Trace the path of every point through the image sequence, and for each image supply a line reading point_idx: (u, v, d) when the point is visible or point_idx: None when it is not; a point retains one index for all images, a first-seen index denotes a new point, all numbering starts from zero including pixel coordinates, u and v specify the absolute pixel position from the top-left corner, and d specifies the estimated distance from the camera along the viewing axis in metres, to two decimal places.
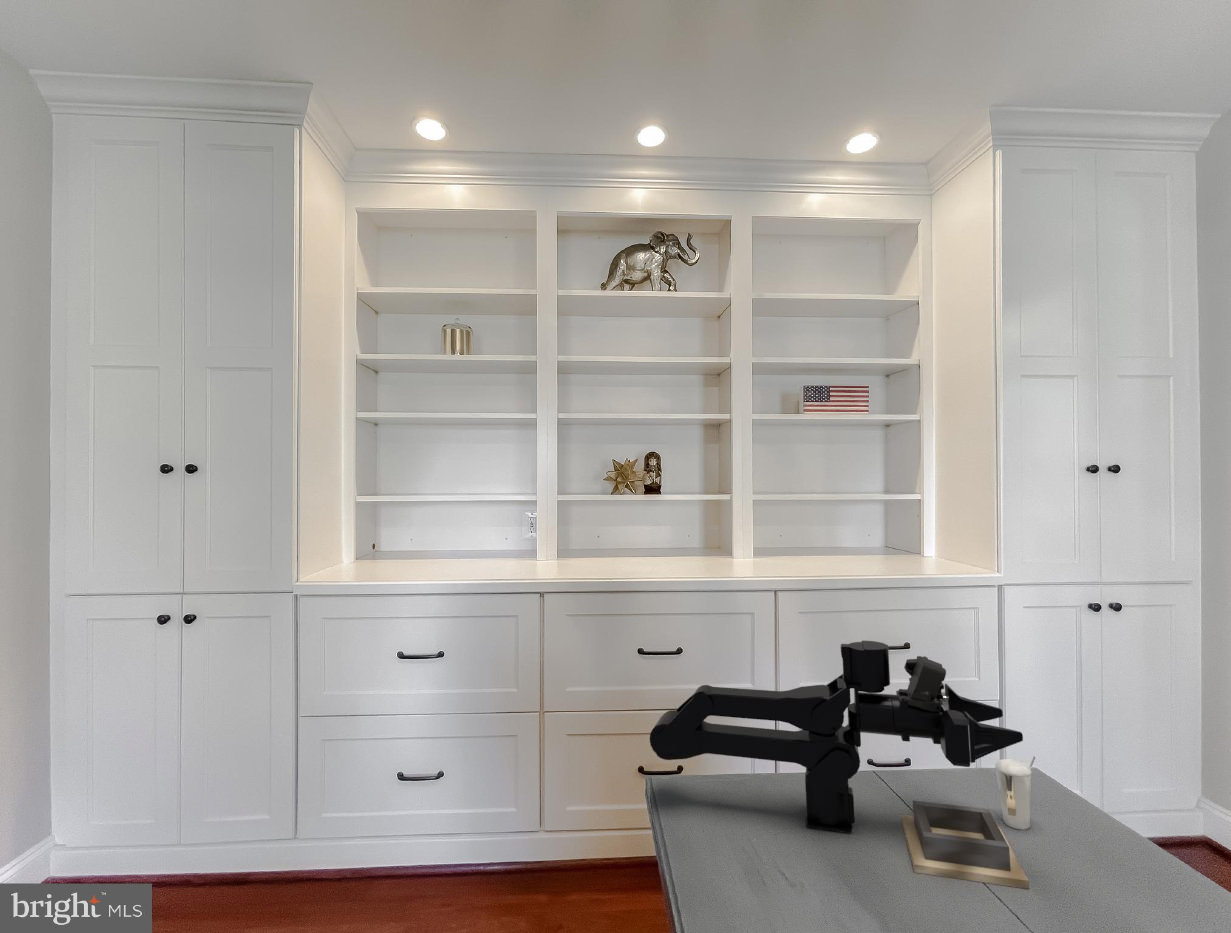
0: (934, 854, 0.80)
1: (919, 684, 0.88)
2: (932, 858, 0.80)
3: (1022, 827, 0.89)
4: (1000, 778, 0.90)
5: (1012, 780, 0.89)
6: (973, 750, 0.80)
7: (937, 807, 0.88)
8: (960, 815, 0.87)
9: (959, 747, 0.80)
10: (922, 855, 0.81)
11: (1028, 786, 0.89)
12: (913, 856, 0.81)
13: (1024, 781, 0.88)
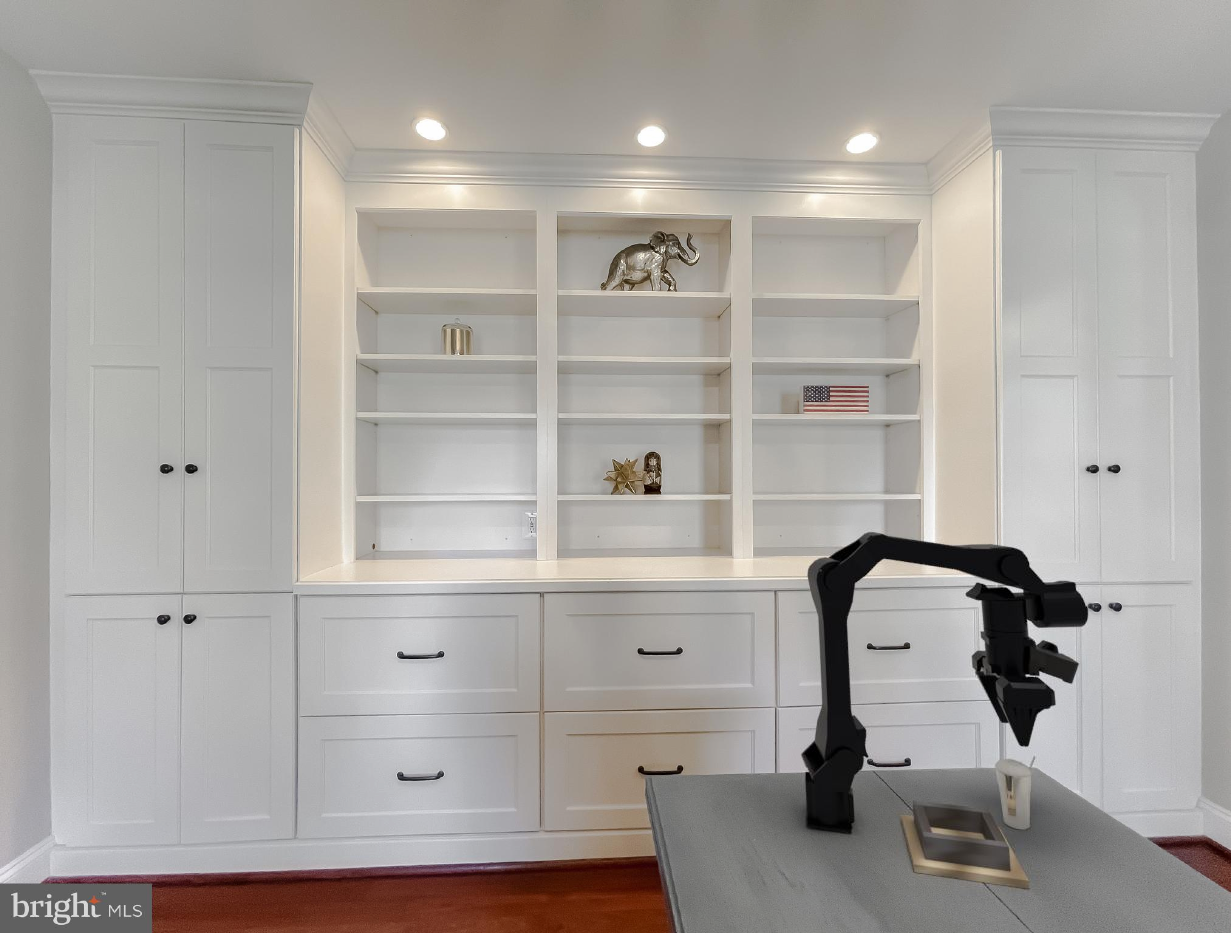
0: (934, 854, 0.80)
1: (1055, 658, 0.87)
2: (932, 858, 0.80)
3: (1022, 827, 0.89)
4: (1000, 778, 0.90)
5: (1012, 780, 0.89)
6: (1018, 706, 0.84)
7: (937, 807, 0.88)
8: (960, 815, 0.87)
9: (1026, 696, 0.82)
10: (922, 855, 0.81)
11: (1028, 786, 0.89)
12: (913, 856, 0.81)
13: (1024, 781, 0.88)
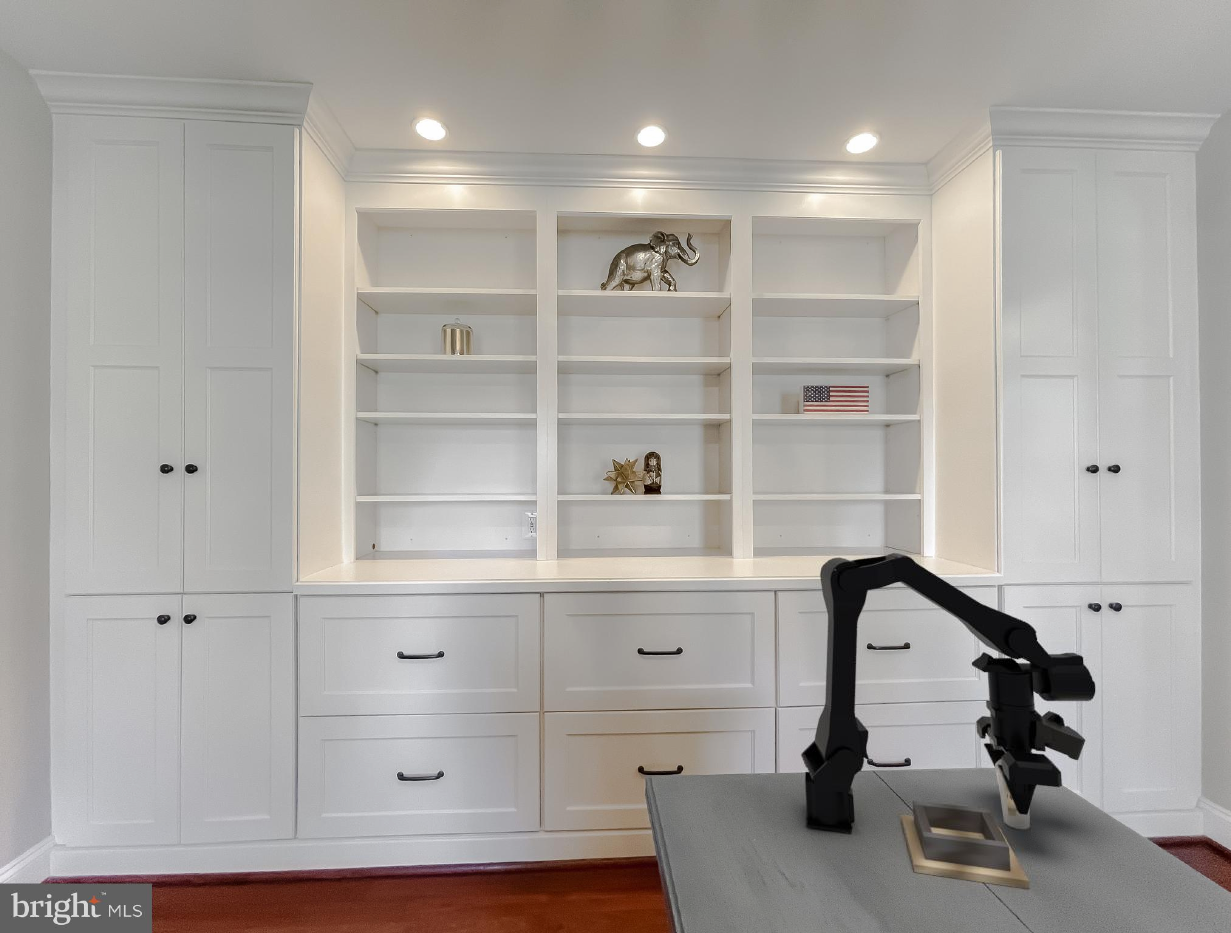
0: (934, 854, 0.80)
1: (1061, 734, 0.87)
2: (932, 858, 0.80)
3: (1022, 827, 0.89)
4: (1000, 778, 0.90)
5: None
6: None
7: (937, 807, 0.88)
8: (960, 815, 0.87)
9: (1032, 775, 0.82)
10: (922, 855, 0.81)
11: None
12: (913, 856, 0.81)
13: None
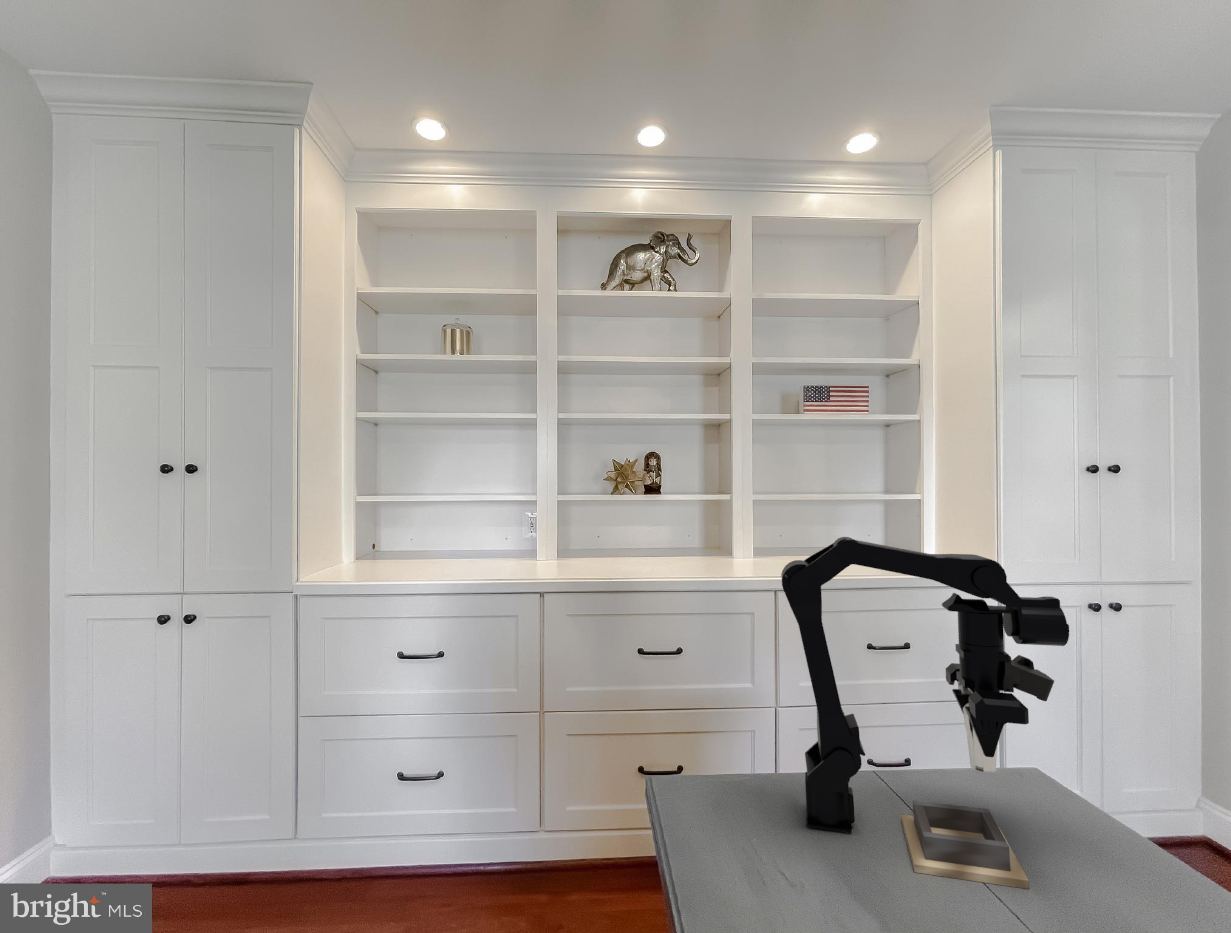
0: (934, 854, 0.80)
1: (1030, 675, 0.85)
2: (932, 858, 0.80)
3: (988, 770, 0.86)
4: (967, 721, 0.88)
5: None
6: None
7: (937, 807, 0.88)
8: (960, 815, 0.87)
9: (999, 713, 0.80)
10: (922, 855, 0.81)
11: None
12: (913, 856, 0.81)
13: None
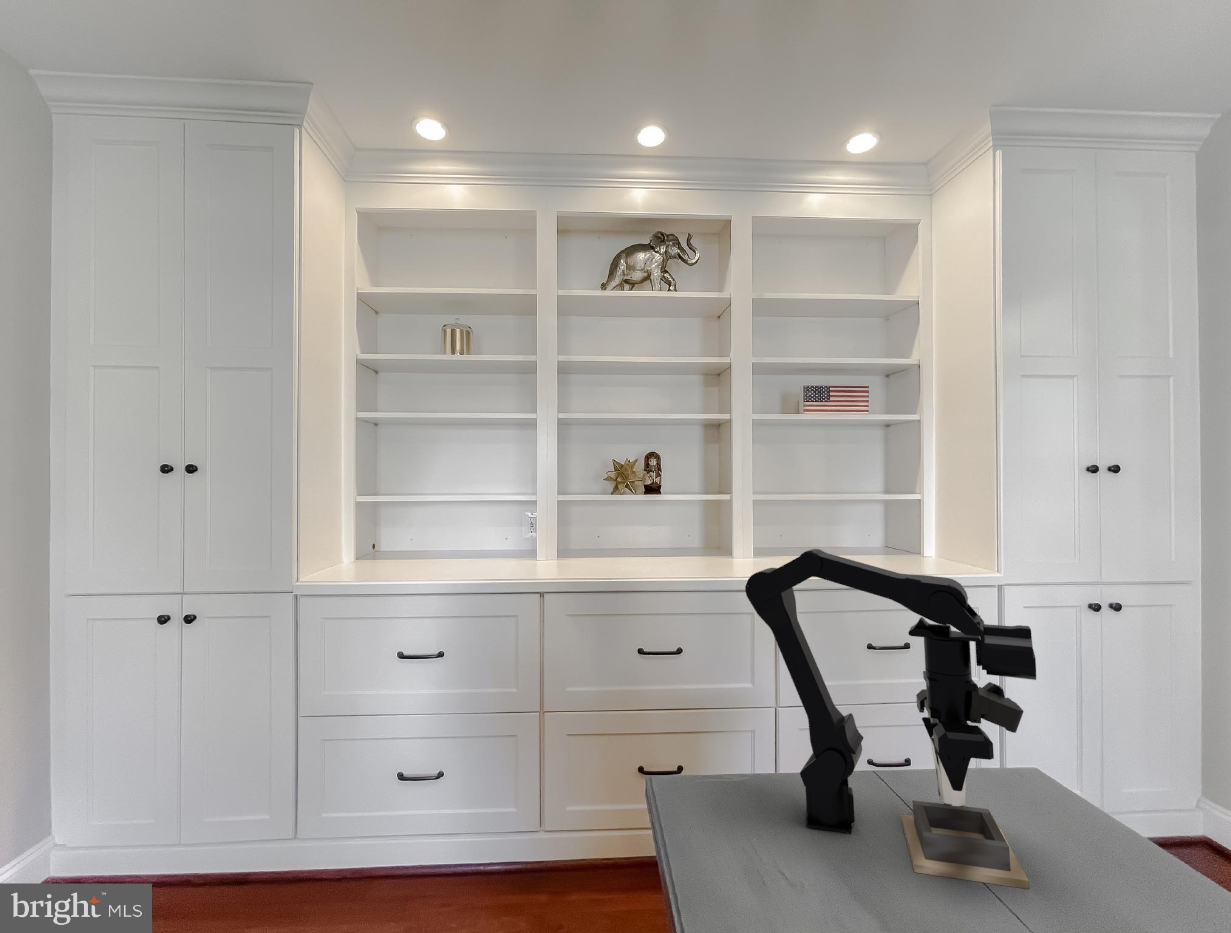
0: (934, 854, 0.80)
1: (998, 705, 0.81)
2: (932, 858, 0.80)
3: (957, 804, 0.83)
4: (935, 752, 0.84)
5: None
6: None
7: (937, 807, 0.88)
8: (960, 815, 0.87)
9: (962, 747, 0.76)
10: (922, 855, 0.81)
11: None
12: (913, 856, 0.81)
13: None
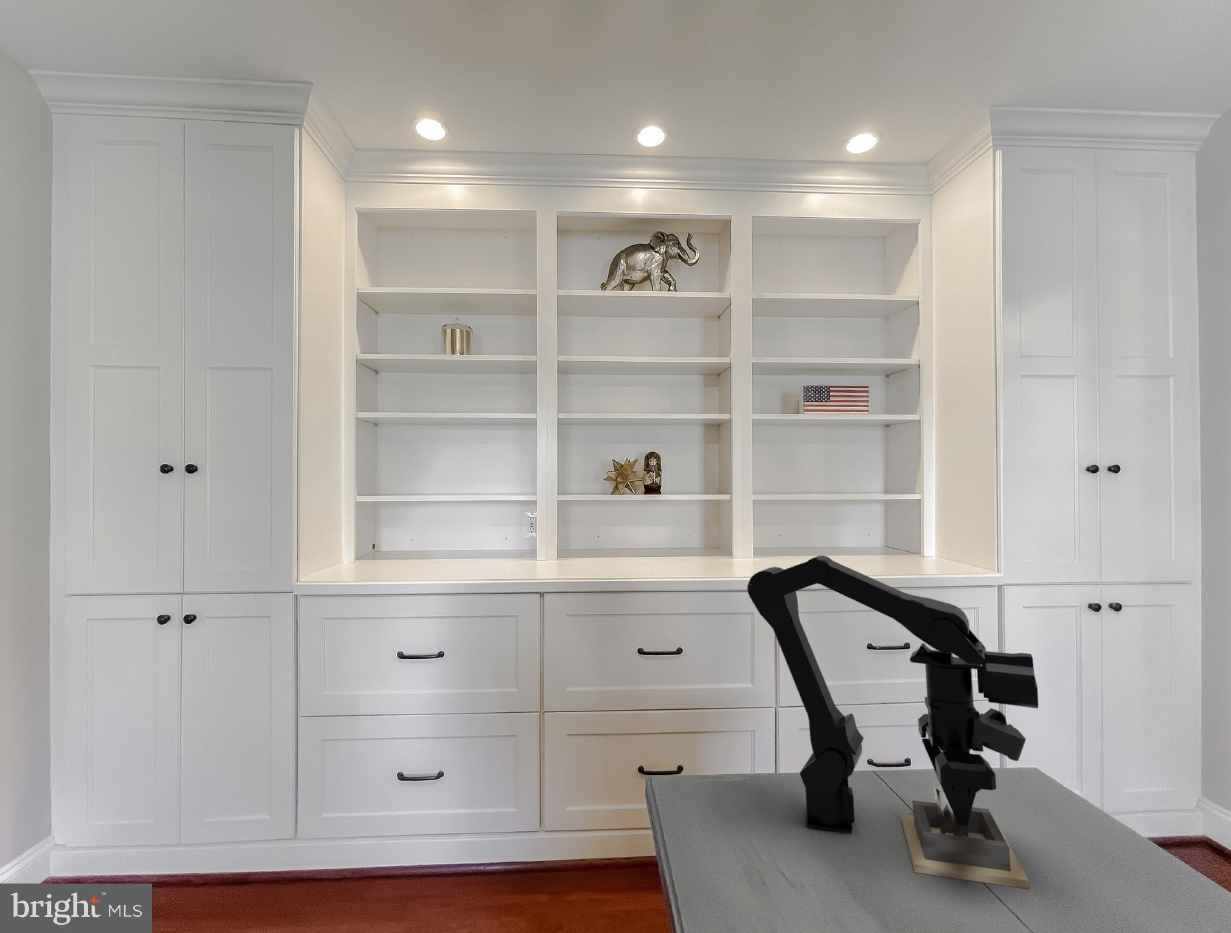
0: (934, 854, 0.80)
1: (1000, 733, 0.81)
2: (932, 858, 0.80)
3: None
4: (937, 795, 0.84)
5: None
6: None
7: None
8: None
9: (964, 778, 0.76)
10: (922, 855, 0.81)
11: None
12: (913, 856, 0.81)
13: None
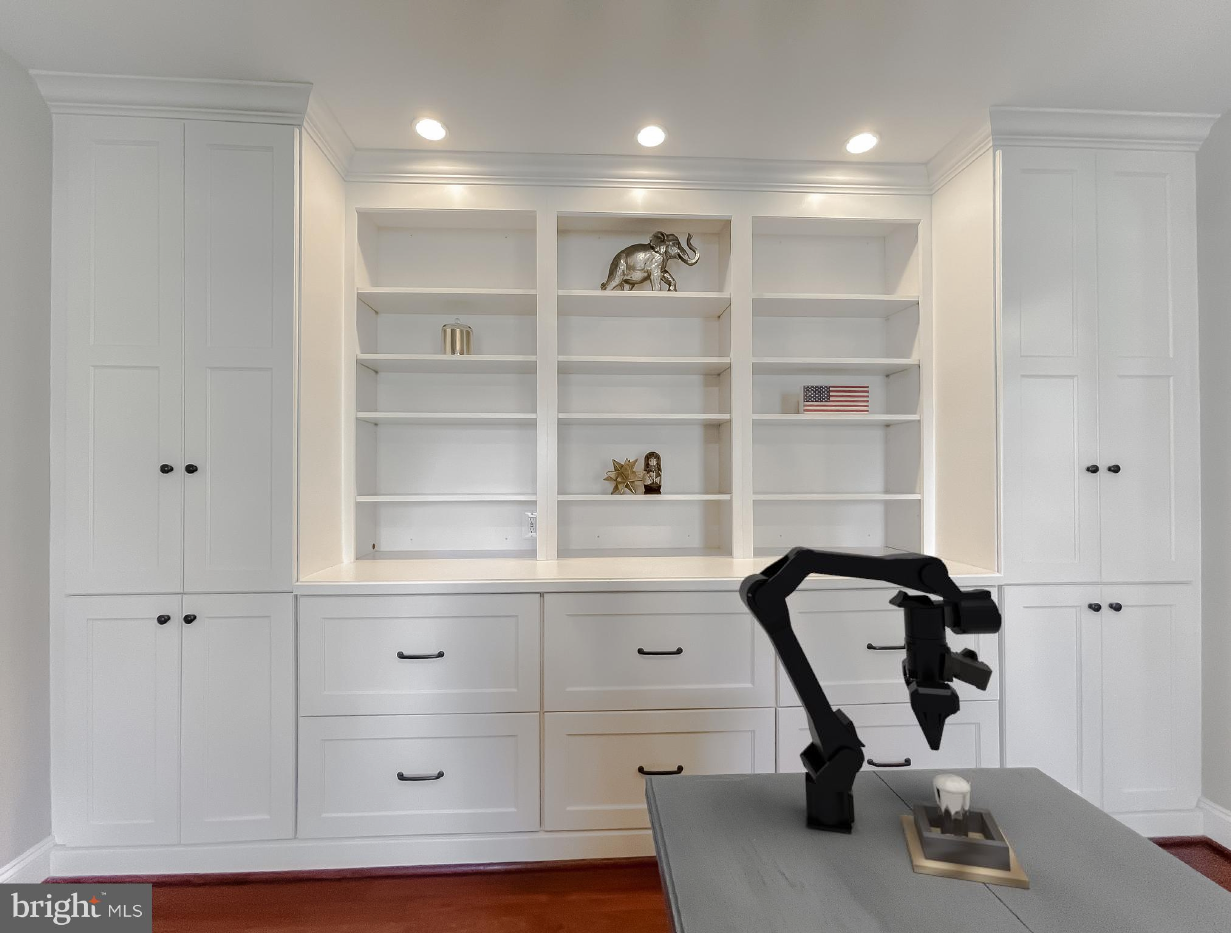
0: (934, 854, 0.80)
1: (969, 665, 0.89)
2: (932, 858, 0.80)
3: None
4: (937, 795, 0.84)
5: (949, 797, 0.82)
6: (925, 711, 0.86)
7: None
8: None
9: (931, 701, 0.85)
10: (922, 855, 0.81)
11: (967, 803, 0.82)
12: (913, 856, 0.81)
13: (962, 798, 0.82)
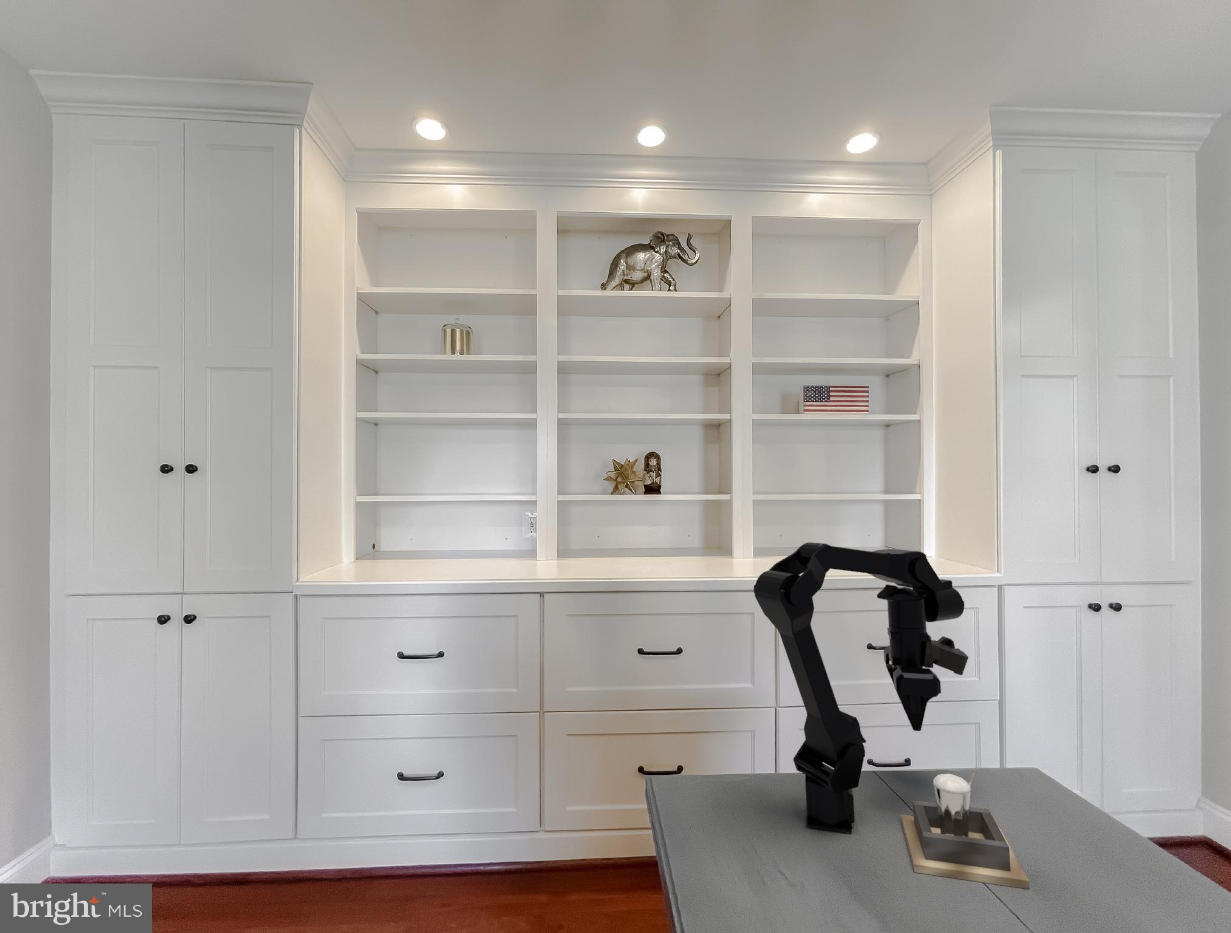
0: (934, 854, 0.80)
1: (947, 652, 0.97)
2: (932, 858, 0.80)
3: None
4: (937, 795, 0.84)
5: (949, 797, 0.82)
6: (909, 694, 0.94)
7: None
8: None
9: (915, 685, 0.92)
10: (922, 855, 0.81)
11: (967, 803, 0.82)
12: (913, 856, 0.81)
13: (962, 798, 0.82)
